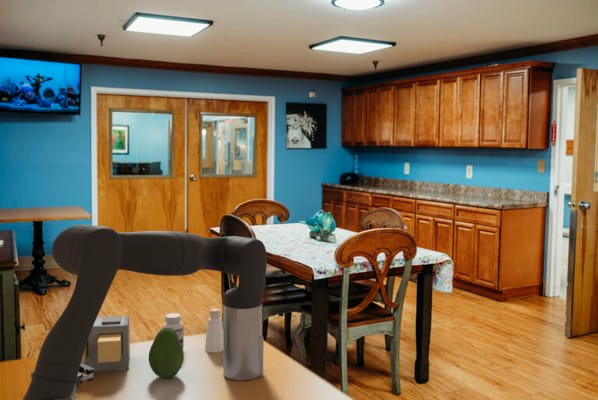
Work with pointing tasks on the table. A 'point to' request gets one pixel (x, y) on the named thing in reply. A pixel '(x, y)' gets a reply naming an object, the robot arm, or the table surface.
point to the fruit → (166, 354)
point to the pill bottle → (175, 325)
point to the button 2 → (109, 347)
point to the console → (102, 327)
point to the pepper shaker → (214, 332)
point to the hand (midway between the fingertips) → (69, 361)
